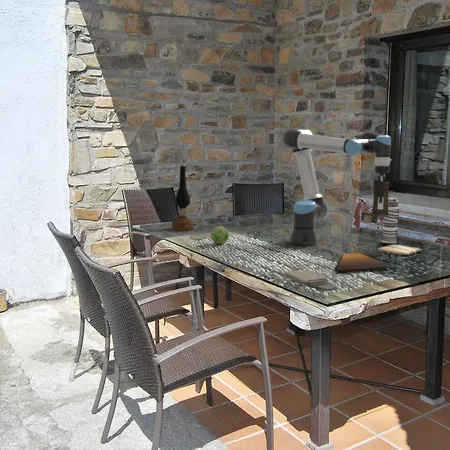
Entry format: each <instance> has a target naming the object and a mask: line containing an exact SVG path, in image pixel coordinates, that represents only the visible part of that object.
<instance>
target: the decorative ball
mask: <svg viewBox="0 0 450 450" xmlns="http://www.w3.org/2000/svg"><path fill="white" fill-rule="evenodd" d="M229 237H230V234H229V231H228V229H227V228H226V227H224V226H220V225H219V226H216V227H214V228H213V229H212V230H211V232H210V239H211V241H212V242H213V243H214V244H217V245H223V244H226V243H227V242H228V240H229Z"/></svg>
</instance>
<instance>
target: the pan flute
mask: <svg viewBox="0 0 450 450" xmlns="http://www.w3.org/2000/svg"><path fill="white" fill-rule="evenodd" d="M378 269H388V265H387V263H386V262H382V261H378V259H374V258H373V257H370V256H369V255H367V256H366V255H365V254H362V253H360V252H357V253H355V252H354V253H343V254H341V256H340V257H339V259H338V261H337V264H336V265H335V267H334V273H337V274H347V273H349V274H350V273H360V271H362V272H369V271H368V270H375V271H379V270H378Z"/></svg>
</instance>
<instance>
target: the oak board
mask: <svg viewBox="0 0 450 450" xmlns="http://www.w3.org/2000/svg"><path fill="white" fill-rule="evenodd" d="M377 251H378V252H379V253H385V252H386V253H387V254H390V253H391V254H390V255H396V254H399V255H398V256H401V255H409V254H412V255H414V254H413V253H415V254H417V253H416V252H419V251H421V252H422V249H421V248H417V247H411V246H407V245H399V244H396V243H392V244H390V245H389V244H388V245H386V246H382V247H378V248H377ZM419 253H420V252H419ZM409 256H410V255H409Z"/></svg>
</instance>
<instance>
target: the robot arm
mask: <svg viewBox="0 0 450 450" xmlns="http://www.w3.org/2000/svg"><path fill="white" fill-rule="evenodd" d="M281 138H282V139H281V140H282V143H283V145H284V146H285V147H286V148H287V149H289V150H291V151H292V154H293V156H295V158H296V163H297V167H298V171H299V177H300V182H301V186H302V190H303V191H302V192H303V196H304V198H302V199H303V200H299V201H296V202H295V203H294V206H293V229H292V232H291V236H290V238H289V243H290V244H291V245H296V246H306V247H307V246H309V247H310V246H315V245H318V238H317V235H316V230H315V227H316V226H315V225H316V222H320V221H323V220H324V219H325V218H327V216H328V214H329V212H330V211H329V209H330V208H329V205H328V203H327V202H325V200H324V196H323V195H322V194H321V193H320V189H319V185H318V184H319V183H318V180H317V176H316V171H315V165H314V163H313V162H314V161H313V157H312V151H313V150H321V151H325V152H327V151H328V152H335V153H341V154H349V155H353V156H357V155H361V154H362V155H368V154H369V155H371V154H372V155H374V154H375V157H374V164H375V166H374V173H375V174H379V175H378V176H377V181H378V182H379V194H378V195H377V197H378V209H383V199H384V197H383V196H384V195H383V192H384V182H385V181H386V180H387V177H386V175H385V174H389V173H390V169H391V166H390V164H391V162H392V159H391V149H392V148H391V147H392V144H391V143H392V137H391V136H389V135H376V138H375V139H363V138H362V139H361V138H360V139H359V138H357V139H353V138H343V137H336V136H327V135H318V134H314V133H312V131H310V130H309V129H307V128H305V127H299V128H297V127H296V128H294V127H290V128H289V129H286V130H285V131H284V132H283V135H282V137H281Z"/></svg>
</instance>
